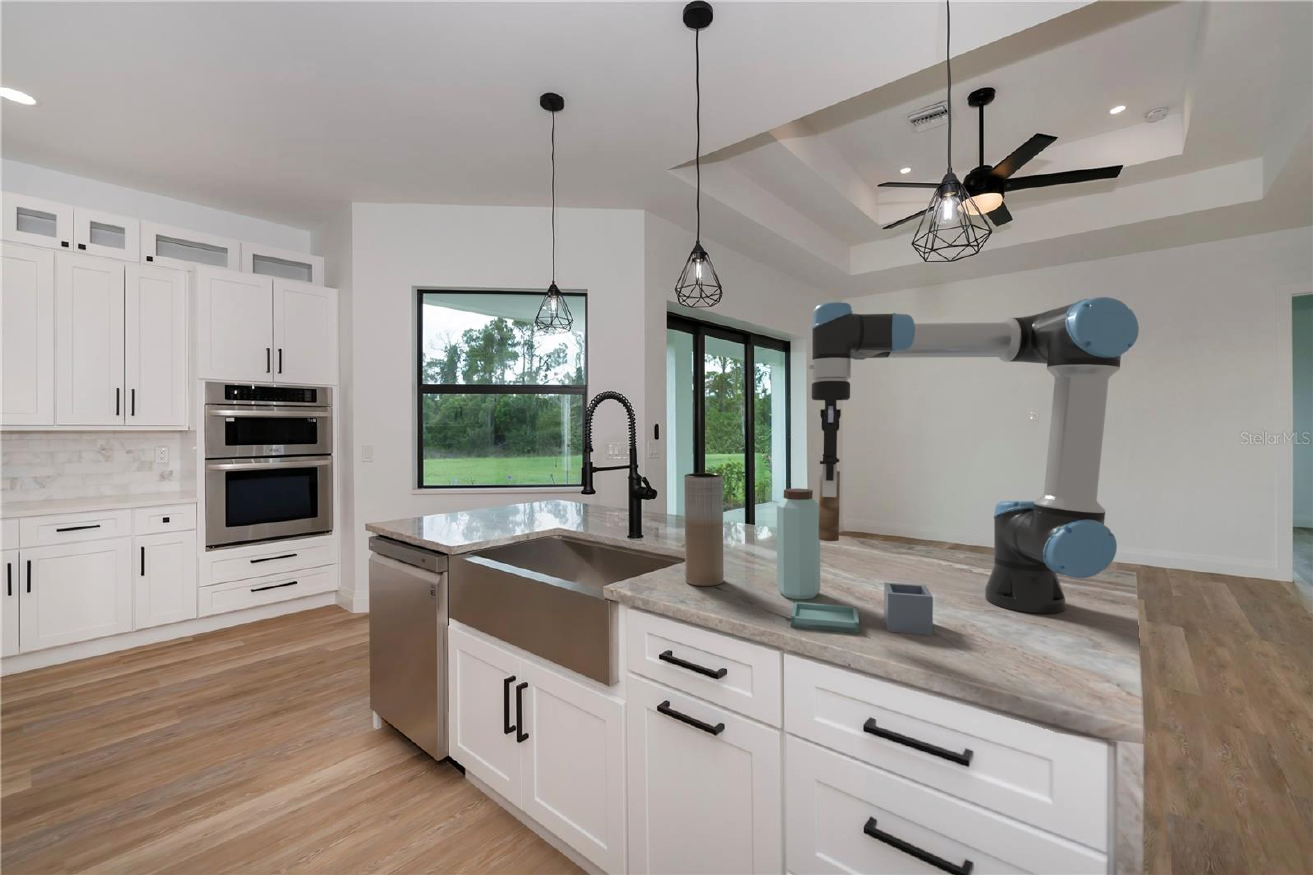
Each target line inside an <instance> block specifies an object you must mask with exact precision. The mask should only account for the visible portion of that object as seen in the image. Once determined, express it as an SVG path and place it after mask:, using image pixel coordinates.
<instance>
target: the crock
mask: <svg viewBox="0 0 1313 875" xmlns="http://www.w3.org/2000/svg"><path fill="white" fill-rule="evenodd" d="M933 599H934V597H933V594H932V593H931V592H930V590H929V588H928V586H927V585H926V584H916V583H902V582H901V583H899V582H886V581H885V582H883V619H884V622H885V625H886V629H887V632H890V633H891V632H893V633H902V634H903V633H905V634H915V635H924V636H925V635H926V636H933V635H934V634H933V631H934V630H933V629H934V626H933V622H934V621H933V620H934V617H933V613H934V611H933V610H934V608H933V607H934V606H933V605H934V604H933V602H934V600H933Z"/></svg>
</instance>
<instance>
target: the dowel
mask: <svg viewBox="0 0 1313 875" xmlns="http://www.w3.org/2000/svg"><path fill="white" fill-rule="evenodd" d="M818 474H819V477H818V479H819V480H818V482H819V484H818V485H819V486H818V490H819V491H818V493H819V494H818V505H819V539H820V541H824V542H838V541H839V540H840V496H841V495H840V487H841V486H840V485H841V484H840V481H841V478H840V477H841V471H840V470H837V491H836V497H822V485H823V469H822V470H819V473H818Z"/></svg>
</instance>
